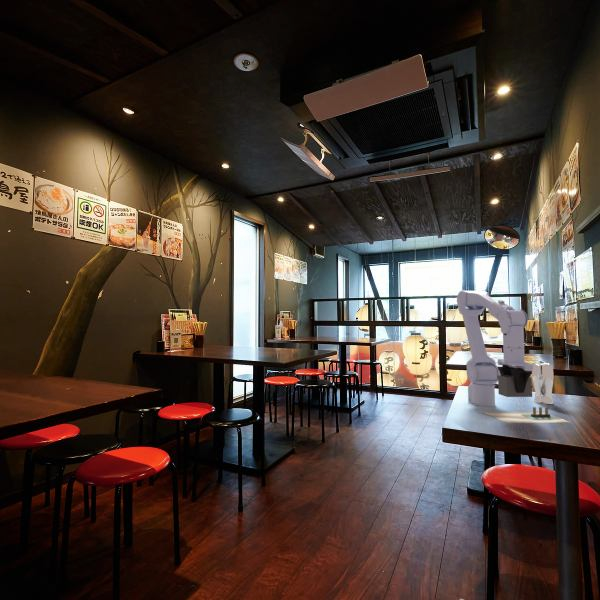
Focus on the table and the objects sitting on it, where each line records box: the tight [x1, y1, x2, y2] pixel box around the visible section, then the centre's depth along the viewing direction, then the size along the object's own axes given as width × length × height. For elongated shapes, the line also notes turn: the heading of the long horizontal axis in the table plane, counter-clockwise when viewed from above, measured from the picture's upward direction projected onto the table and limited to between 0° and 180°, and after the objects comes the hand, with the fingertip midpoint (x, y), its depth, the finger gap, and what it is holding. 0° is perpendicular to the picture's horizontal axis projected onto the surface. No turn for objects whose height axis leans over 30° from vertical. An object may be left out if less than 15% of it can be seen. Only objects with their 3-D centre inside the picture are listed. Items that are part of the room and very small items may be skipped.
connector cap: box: [497, 374, 533, 398], centre depth 113 cm, size 4×8×6 cm, turn 92°
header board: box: [485, 406, 570, 424], centre depth 112 cm, size 12×20×4 cm, turn 93°
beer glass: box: [531, 362, 555, 405], centre depth 139 cm, size 7×7×15 cm
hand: (515, 390), depth 113 cm, fingers closed on connector cap, 4 cm apart
